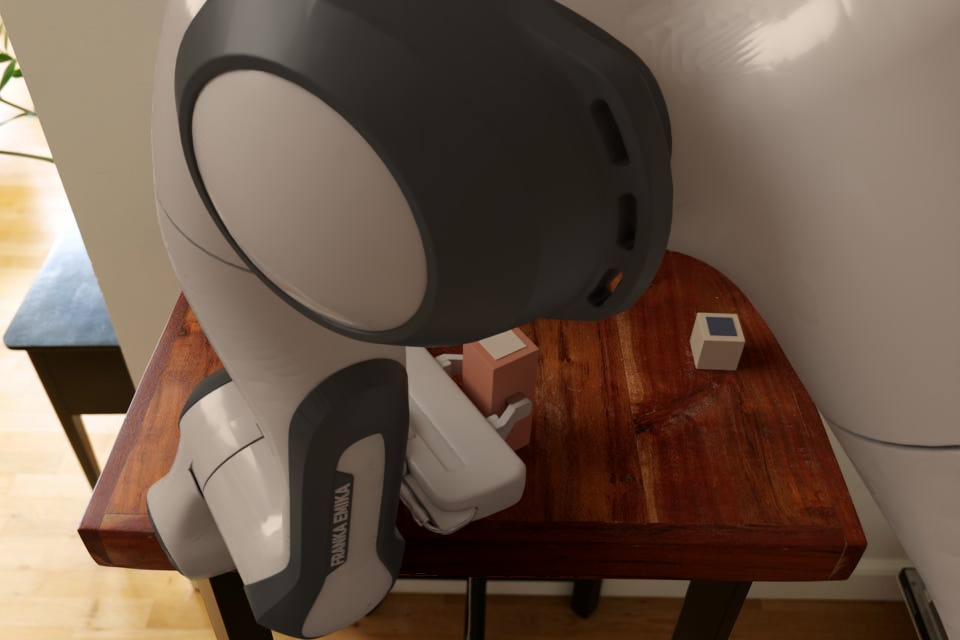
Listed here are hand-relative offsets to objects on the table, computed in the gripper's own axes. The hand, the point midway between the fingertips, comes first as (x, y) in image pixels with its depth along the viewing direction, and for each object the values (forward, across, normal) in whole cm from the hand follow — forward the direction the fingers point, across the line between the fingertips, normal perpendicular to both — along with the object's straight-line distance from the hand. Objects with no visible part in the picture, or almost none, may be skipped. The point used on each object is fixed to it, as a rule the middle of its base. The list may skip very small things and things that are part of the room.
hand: (506, 380), depth 73 cm
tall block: (-1, 0, +7) cm, 7 cm away
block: (+24, -3, +7) cm, 25 cm away
